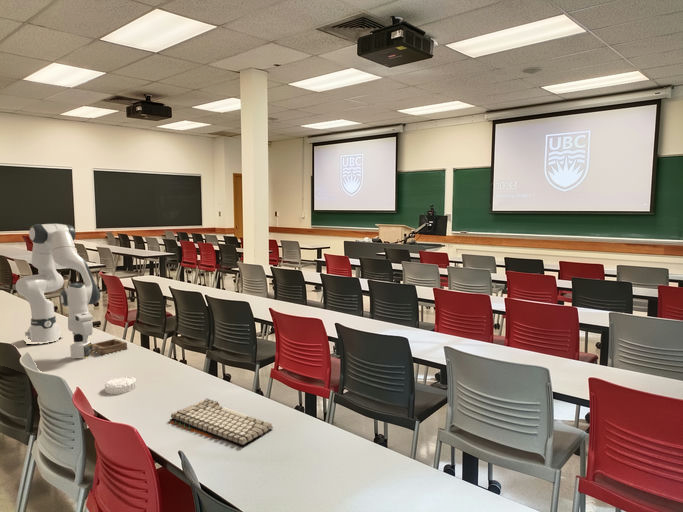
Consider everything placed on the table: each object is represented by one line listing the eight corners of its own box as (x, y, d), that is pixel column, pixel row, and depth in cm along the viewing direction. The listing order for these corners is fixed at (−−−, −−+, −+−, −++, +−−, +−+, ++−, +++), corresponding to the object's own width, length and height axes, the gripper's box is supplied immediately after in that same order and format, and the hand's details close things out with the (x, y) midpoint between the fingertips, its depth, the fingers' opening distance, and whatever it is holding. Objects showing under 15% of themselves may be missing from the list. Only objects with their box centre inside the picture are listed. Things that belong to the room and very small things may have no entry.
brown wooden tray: (91, 350, 252) (90, 344, 252) (115, 345, 262) (114, 338, 262) (102, 355, 244) (102, 348, 244) (127, 349, 254) (126, 342, 254)
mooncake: (102, 388, 200) (101, 380, 200) (131, 381, 208) (131, 373, 207) (109, 397, 191) (108, 388, 191) (140, 389, 199) (139, 381, 198)
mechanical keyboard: (280, 427, 164) (280, 418, 164) (241, 452, 148) (240, 441, 148) (205, 404, 184) (205, 396, 184) (164, 424, 168) (163, 415, 168)
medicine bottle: (84, 359, 239) (83, 336, 237) (70, 359, 239) (69, 336, 237) (92, 354, 246) (90, 332, 244) (78, 354, 246) (77, 332, 245)
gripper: (63, 313, 244) (65, 339, 245) (81, 319, 231) (83, 346, 233) (76, 311, 249) (78, 336, 250) (94, 316, 236) (96, 343, 238)
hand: (80, 341), depth 241 cm, fingers open, 8 cm apart
